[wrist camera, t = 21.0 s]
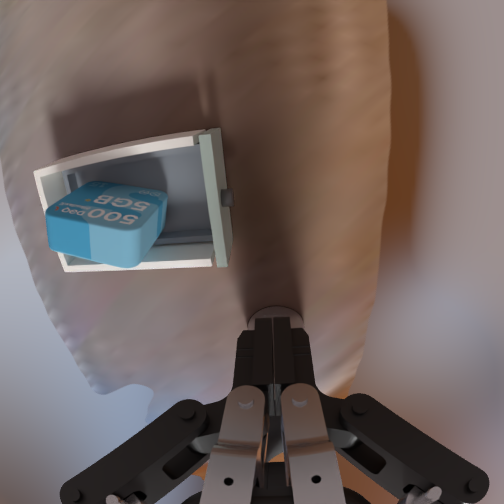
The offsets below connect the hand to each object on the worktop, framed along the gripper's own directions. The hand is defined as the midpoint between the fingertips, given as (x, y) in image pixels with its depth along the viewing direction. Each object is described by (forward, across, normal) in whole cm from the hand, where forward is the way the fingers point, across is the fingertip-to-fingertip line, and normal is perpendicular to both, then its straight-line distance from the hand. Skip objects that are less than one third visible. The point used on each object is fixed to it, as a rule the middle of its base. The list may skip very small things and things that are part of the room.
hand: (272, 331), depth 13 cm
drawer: (+27, +15, +1) cm, 31 cm away
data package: (+26, +19, +1) cm, 32 cm away
